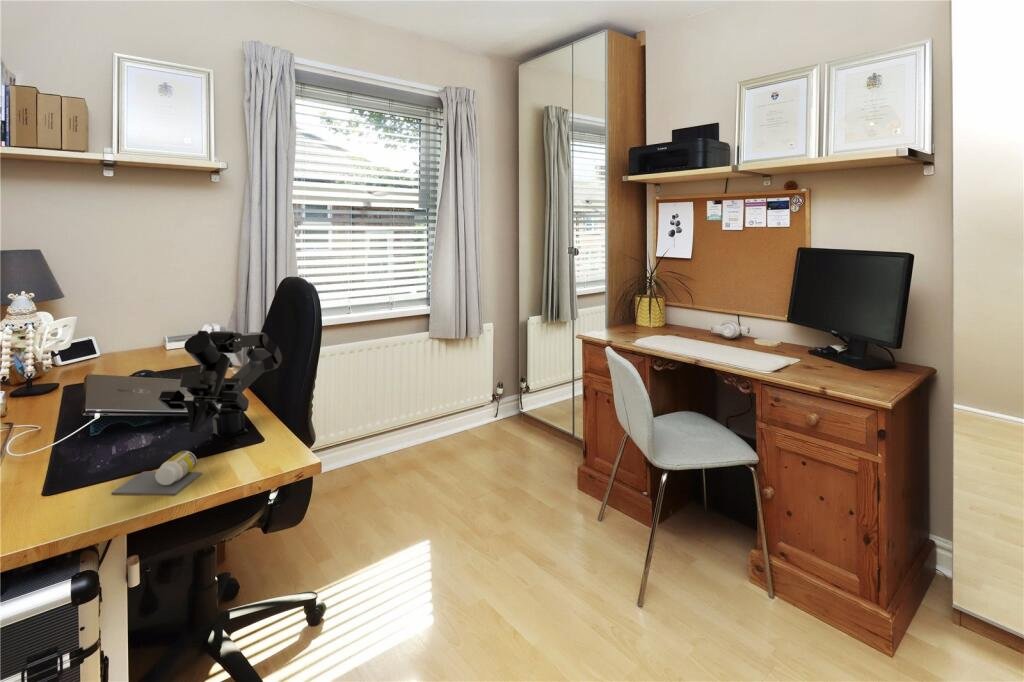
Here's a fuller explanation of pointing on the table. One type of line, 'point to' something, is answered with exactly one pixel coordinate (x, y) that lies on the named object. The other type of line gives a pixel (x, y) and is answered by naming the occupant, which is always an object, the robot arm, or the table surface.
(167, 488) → the mat
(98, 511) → the table surface
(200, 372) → the robot arm
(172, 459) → the supplement bottle
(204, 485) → the table surface
